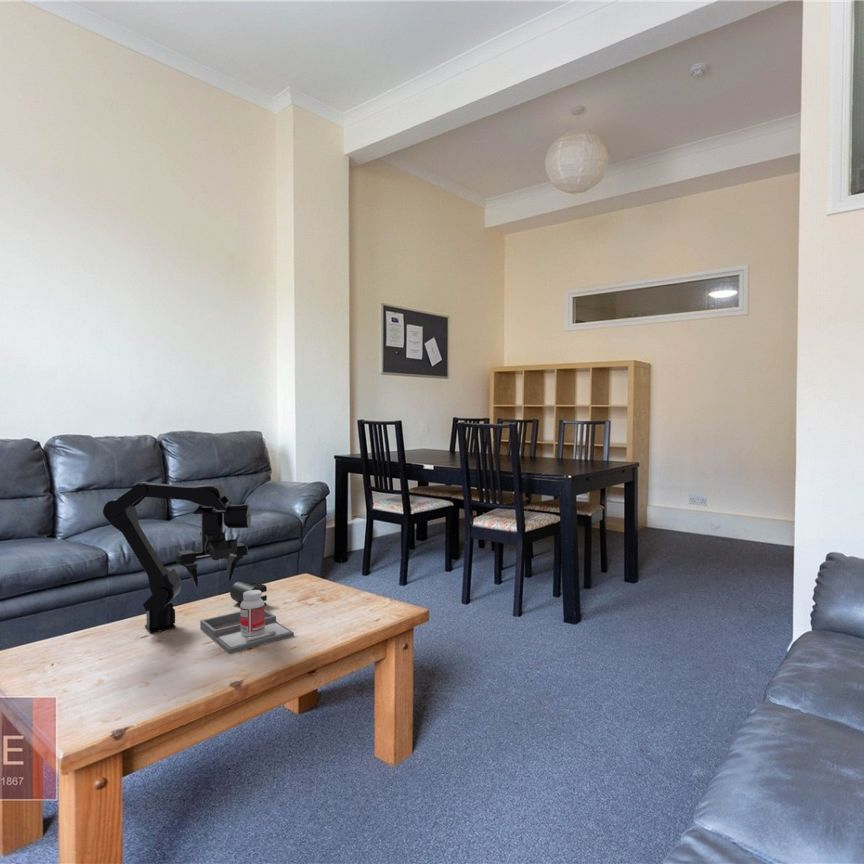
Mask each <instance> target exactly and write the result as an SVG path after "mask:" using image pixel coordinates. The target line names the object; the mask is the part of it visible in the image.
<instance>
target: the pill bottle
mask: <svg viewBox="0 0 864 864" xmlns="http://www.w3.org/2000/svg"><path fill="white" fill-rule="evenodd" d="M261 596H263V594H262V593H261V591H260V590H250V591H246V592H244V593H243V599H244V600H243V601H242V602H241V603H239V604H240V607H239V609H240V611H239V612H240V621H239V622H240V624H241V635H242V636H246V637H253V636H257V635H261V634H262V633H263V632H264V630H265V619H264V609H265V605H264V602H265V601H263V600H262V599H260V598H261Z"/></svg>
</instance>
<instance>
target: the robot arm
mask: <svg viewBox="0 0 864 864" xmlns="http://www.w3.org/2000/svg"><path fill="white" fill-rule="evenodd" d="M146 498H157V499H166V500H179V501H180V500H181V501H188V502H191V503H194V504H196V505H199V506H198V507H197V508H196V510H194V511H193V514H194V515H201V516H200V517H201V520H200V521H201V531H200V532H199V533H200V536H201V546H200V551H193V550H191V549H188V550H187V549H186V550H179V551H177V552H176V553H175V555H174V560H175V563H177V564H178V565H179V566H183V567H185V568H186V569H187V571H188V573H189V576H190V578H191V580H192V583H193V585H194V587H195V588H198V584H199V583H198V582H199V579H198V571H197V570H198V569H197V568H198V564H197V563H196V561H197V560H199V559H205V558H211V559H212V560H213V561H219V560H223V559H224V560H225V559H226V579H227V581H228V582H230V581H231V580H232V577H233V574H234V571H235V567H236V566H237V564H238V562H239V561H240V560H241V559H244V557H245V556H248V555H249V548H248V546H247V545H246V544H244V543H241V542H238V540H237V539H236V538H233V539H232V538H231V539H228V540H226V535H225V532H224V526H225V527H227V529H229V530H231V529H250V527H251V523H252V513H251V509H250V504H249V503H243V504H233V503H232V502H231V500H230V499H229V498H228V496H226V493H225V490H224V488H223V486H222V485H220V484H218V483H210V484H209V483H206V484H200V485H198V484H197V485H183V484H182V485H181V484H180V485H179V484H168V483H157V482H149V481H141V482H139V483H137V484H135V486H134V487H132V488H131V489H130V490H128V491H127V492H125V493H123V494H122V495H121V496H119V497H118V498H115V499H113V500H109V501H107V502H106V503H105V505H104V506H103V509H102V515H103V516H104V518H105V519H106V520H107V521H108V523H109V524H110V525H111V526H112V527H113V528H115V529H116V530H118V531H119V532H120V533H121V534H122V535H123V537H124V539H125V540H126V542H127V544H128V546H129V547H130V548H131V551H132V552H133V554H134V555H135V557H136V559H137V561H138V563H139V565H141V567H142V569H143V571H144V572H145V574H146V575H147V579H148V580H147V581H148V588H149V591H150V593H151V595H150V597H149V598H148V599H146V600H145V602H143V607H144V611H145V612H146V624H145V625H144V628H145V629H146V630H147V631H148V632H149V633H150V634H151V633H157V632H161V631H166V630H170V629H173V628H174V629H175V628H176V625H175V624H176V609H175V608H174V604H173V603H172V602H173V601H174V599H175V597H177V595H179V593H180V592H181V588H182V583H181V581H182V578H181V577H179V575H178V573H177V571H176V568H172V569H171V570H169V569H167V568H166V567H165V566H164V565H163V563H162V561H161V559H160V558H159V556H158V554H157V553H156V550H154V547H153V546H152V544H151V542H150V541H149V538H147V536H146V534H145V532H144V531H143V529H142V527H141V526H140V523H139V517H138V512H137V509H136V507H137V506H138V505H139V504H140V503H142V501H144V500H145V499H146Z"/></svg>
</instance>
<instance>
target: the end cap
mask: <svg viewBox="0 0 864 864" xmlns="http://www.w3.org/2000/svg"><path fill="white" fill-rule="evenodd" d="M256 583H257V582H255V581H253V580H250V581H249V580H248V581H246V582H242V581H236V582H235V583H233V584H232V586H231V587H230V590H229V591H230V592H229V595H230V598H231V599H232V600H233V601H235V602H236V603H239V604H241V602H242V601H243V600H244V599H243V593H244V592H246V591H250V590H260V591H261V594H262V593H266V592H267V589H268V587H267V585H265V584H263V583H259V584H256ZM255 584H256V585H255ZM267 597H268V595H262V596H261V598H260V599H262V600H263V601H264V606H267V603H266V601H267V600H268V599H267Z"/></svg>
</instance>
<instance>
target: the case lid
mask: <svg viewBox="0 0 864 864" xmlns="http://www.w3.org/2000/svg"><path fill="white" fill-rule="evenodd" d="M272 631H275V632H276V634H275V635H272V636H269V637H265V638H261V639H257V640H253V641H250V642H245V638H249V637H246V636H242V635H241V630H238V631H234V632H230V633H226V634H222V635H218V636H214V640H213V642H215V643H216V644H217V645H218V646H220V647H221V648H222V649H224V650H225V651H226V652H227V653H228V654H232V653H236V652H240V651H244V650H247V649H251V648H255V647H259V646H262V645H266V644H269V643H273V642H277V641H279V640H280V641H281V640H284V639H288V638H291V637H295V635H294V631H292V630H291V629H289V628H287V627H286V626H285V625H282V624H281V623H280V622H278V621H277V620H276V621H274V622H270V623H266V624H265V630H264V632H263V633H262V634H265V633H268V632H272Z"/></svg>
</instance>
